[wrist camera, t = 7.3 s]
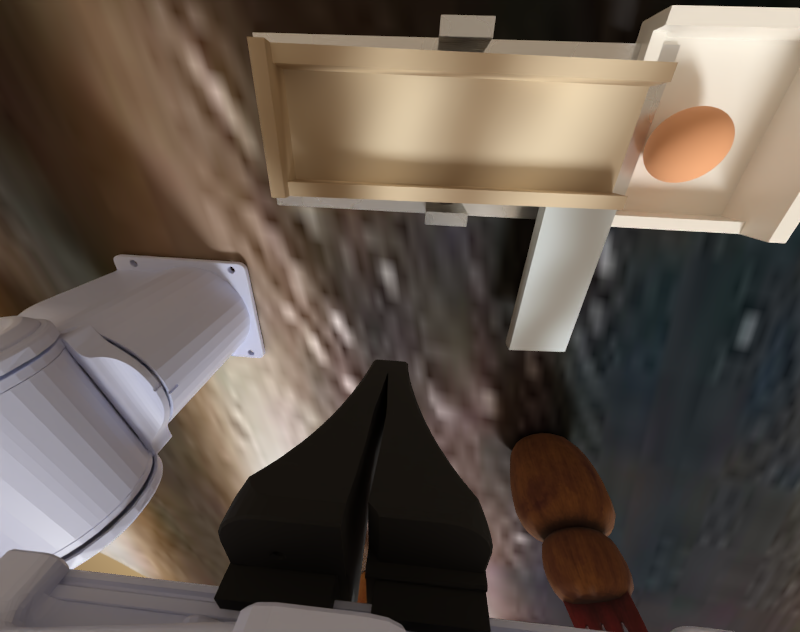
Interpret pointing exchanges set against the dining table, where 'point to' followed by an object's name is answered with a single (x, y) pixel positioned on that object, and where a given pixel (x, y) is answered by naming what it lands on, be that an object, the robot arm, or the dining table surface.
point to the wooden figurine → (573, 532)
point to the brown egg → (689, 144)
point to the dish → (750, 112)
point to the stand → (478, 38)
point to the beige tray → (463, 146)
